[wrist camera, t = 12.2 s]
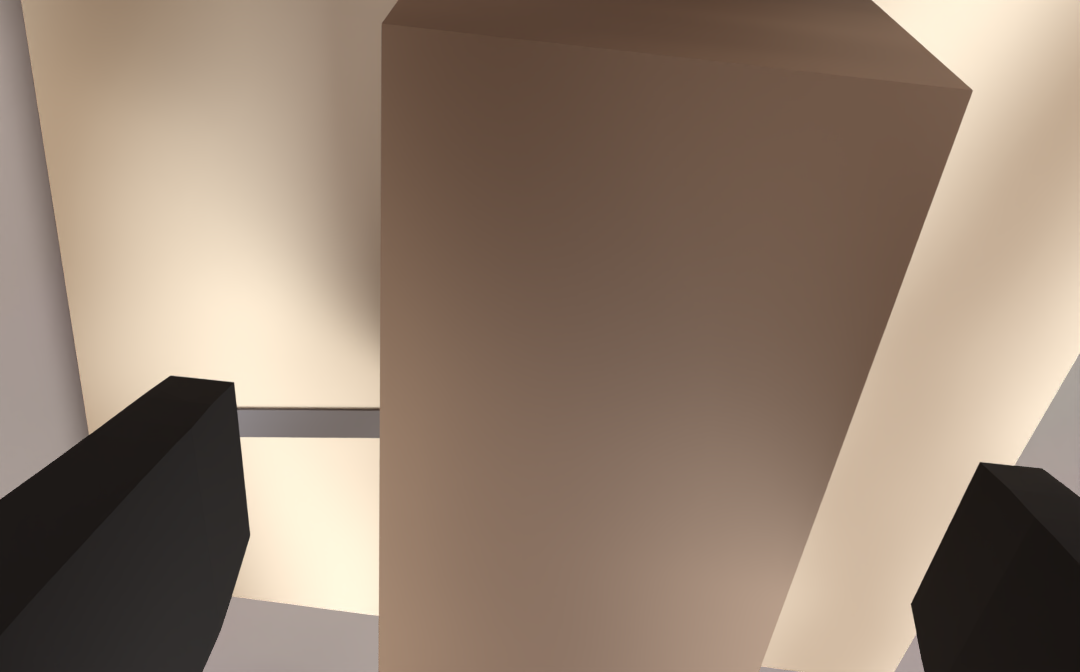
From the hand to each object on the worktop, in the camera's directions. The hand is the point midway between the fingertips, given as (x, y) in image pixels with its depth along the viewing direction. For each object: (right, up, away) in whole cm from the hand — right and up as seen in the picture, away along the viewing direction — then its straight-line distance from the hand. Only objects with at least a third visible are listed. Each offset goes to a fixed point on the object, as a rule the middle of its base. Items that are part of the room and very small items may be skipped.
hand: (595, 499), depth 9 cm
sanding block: (0, +3, +4) cm, 6 cm away
